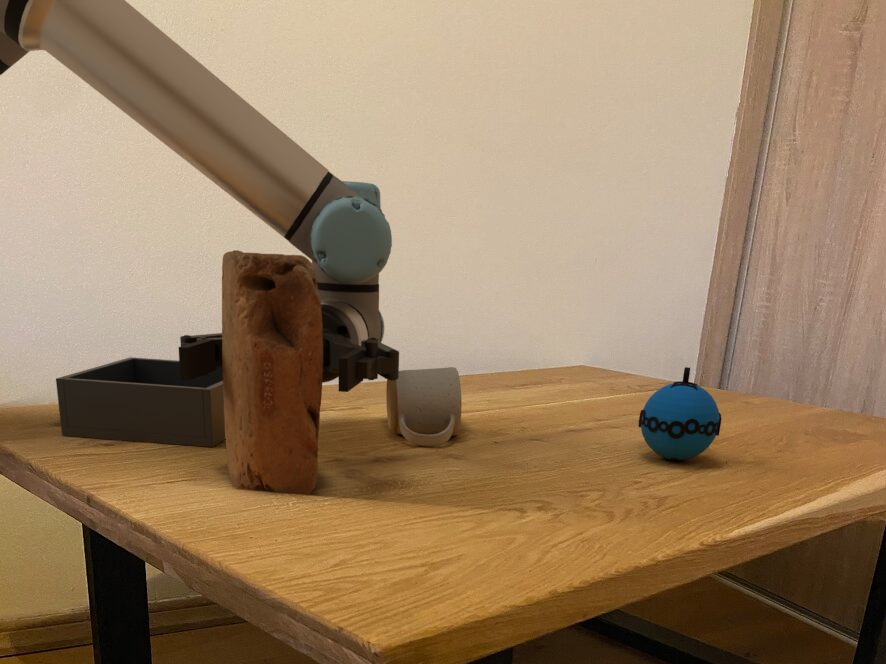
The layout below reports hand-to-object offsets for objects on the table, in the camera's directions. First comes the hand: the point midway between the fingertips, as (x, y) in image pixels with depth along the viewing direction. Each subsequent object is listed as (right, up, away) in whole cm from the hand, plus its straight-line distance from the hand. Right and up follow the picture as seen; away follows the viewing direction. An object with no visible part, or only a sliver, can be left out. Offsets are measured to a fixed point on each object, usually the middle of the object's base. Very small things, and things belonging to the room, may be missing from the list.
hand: (262, 369), depth 77 cm
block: (0, -9, +7) cm, 11 cm away
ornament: (+40, -4, +25) cm, 48 cm away
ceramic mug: (+13, -1, +30) cm, 32 cm away
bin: (-16, +1, +29) cm, 33 cm away
